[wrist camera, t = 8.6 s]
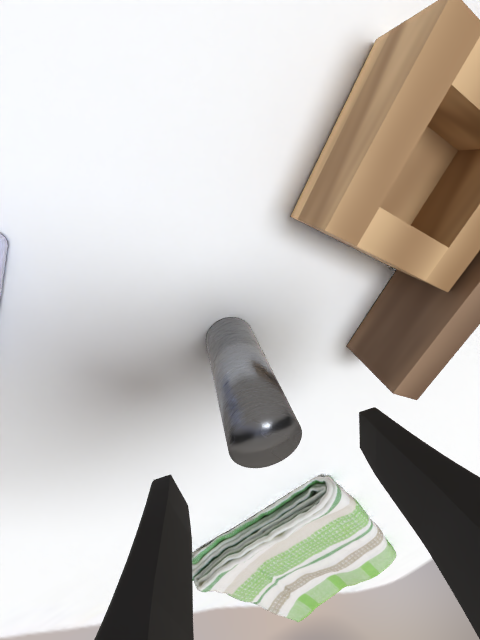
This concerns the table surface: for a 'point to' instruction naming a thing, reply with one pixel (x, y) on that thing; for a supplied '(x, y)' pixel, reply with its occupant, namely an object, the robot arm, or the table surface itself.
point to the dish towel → (295, 552)
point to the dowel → (250, 397)
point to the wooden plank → (417, 329)
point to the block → (408, 151)
